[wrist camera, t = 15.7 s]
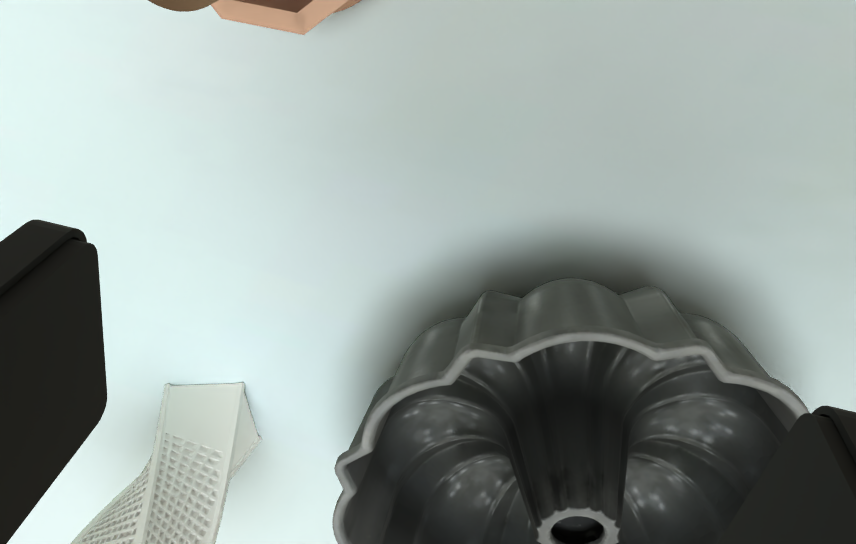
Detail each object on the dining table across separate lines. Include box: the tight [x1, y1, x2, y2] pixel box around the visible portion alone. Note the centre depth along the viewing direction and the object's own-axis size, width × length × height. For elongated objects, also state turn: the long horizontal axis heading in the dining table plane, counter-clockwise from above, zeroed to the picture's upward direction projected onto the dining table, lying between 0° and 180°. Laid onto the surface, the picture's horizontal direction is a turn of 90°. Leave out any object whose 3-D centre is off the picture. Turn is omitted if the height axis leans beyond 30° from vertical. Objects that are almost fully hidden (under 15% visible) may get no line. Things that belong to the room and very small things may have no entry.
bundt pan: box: [333, 278, 809, 544], centre depth 41 cm, size 26×26×10 cm
